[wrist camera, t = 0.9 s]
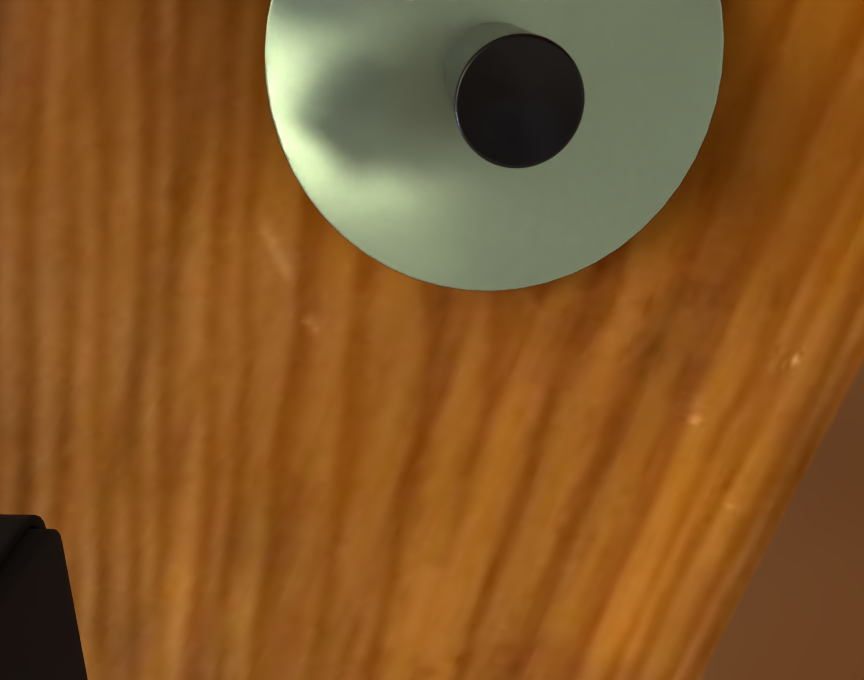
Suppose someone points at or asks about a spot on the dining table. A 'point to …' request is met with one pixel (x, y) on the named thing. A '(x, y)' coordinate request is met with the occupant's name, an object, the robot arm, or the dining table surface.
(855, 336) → the dining table surface
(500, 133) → the lid
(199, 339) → the dining table surface
